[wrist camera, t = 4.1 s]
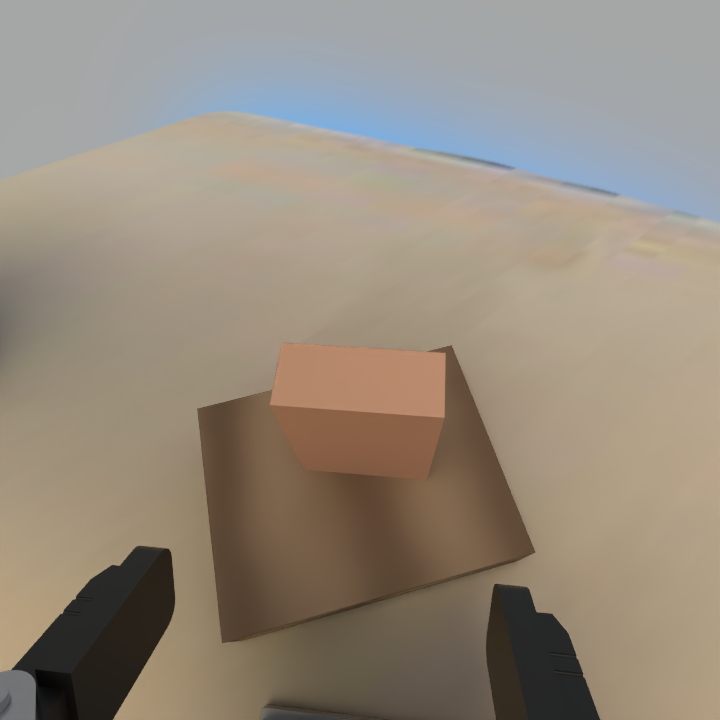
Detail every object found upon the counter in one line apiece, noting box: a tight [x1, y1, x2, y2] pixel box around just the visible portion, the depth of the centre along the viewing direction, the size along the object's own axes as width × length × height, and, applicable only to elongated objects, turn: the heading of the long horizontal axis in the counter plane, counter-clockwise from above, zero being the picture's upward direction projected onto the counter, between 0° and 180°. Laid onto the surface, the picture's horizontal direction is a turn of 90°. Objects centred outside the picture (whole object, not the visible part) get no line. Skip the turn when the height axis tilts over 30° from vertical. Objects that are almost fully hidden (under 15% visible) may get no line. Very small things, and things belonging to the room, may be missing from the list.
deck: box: [197, 345, 535, 643], centre depth 25 cm, size 14×11×3 cm
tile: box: [270, 343, 446, 480], centre depth 21 cm, size 6×2×8 cm, turn 85°
